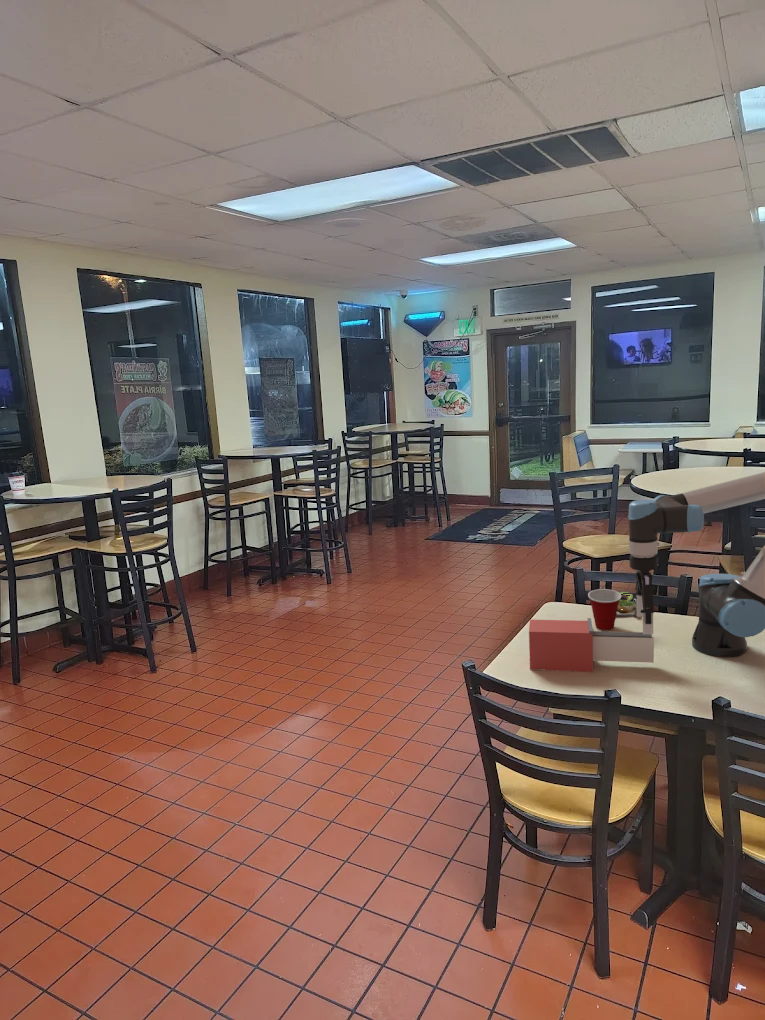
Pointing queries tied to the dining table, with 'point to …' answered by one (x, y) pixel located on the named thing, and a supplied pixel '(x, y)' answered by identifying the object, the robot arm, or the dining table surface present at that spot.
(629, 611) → the salad plate
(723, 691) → the dining table surface
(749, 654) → the dining table surface
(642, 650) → the white rectangular block
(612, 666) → the dining table surface
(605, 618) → the plastic cup
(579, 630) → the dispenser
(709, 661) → the dining table surface
